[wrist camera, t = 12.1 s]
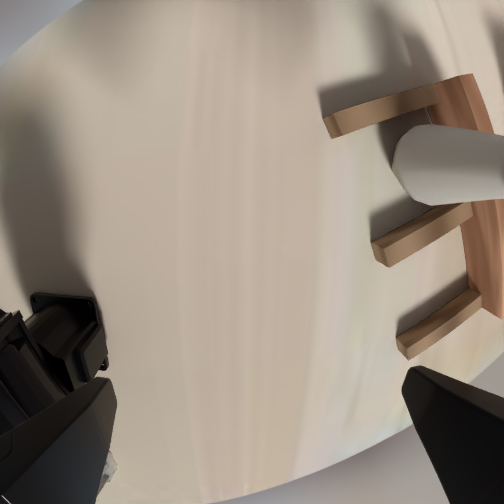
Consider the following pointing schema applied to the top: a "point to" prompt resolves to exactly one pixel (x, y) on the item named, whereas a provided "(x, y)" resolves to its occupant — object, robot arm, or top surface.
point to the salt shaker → (450, 164)
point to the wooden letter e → (441, 208)
